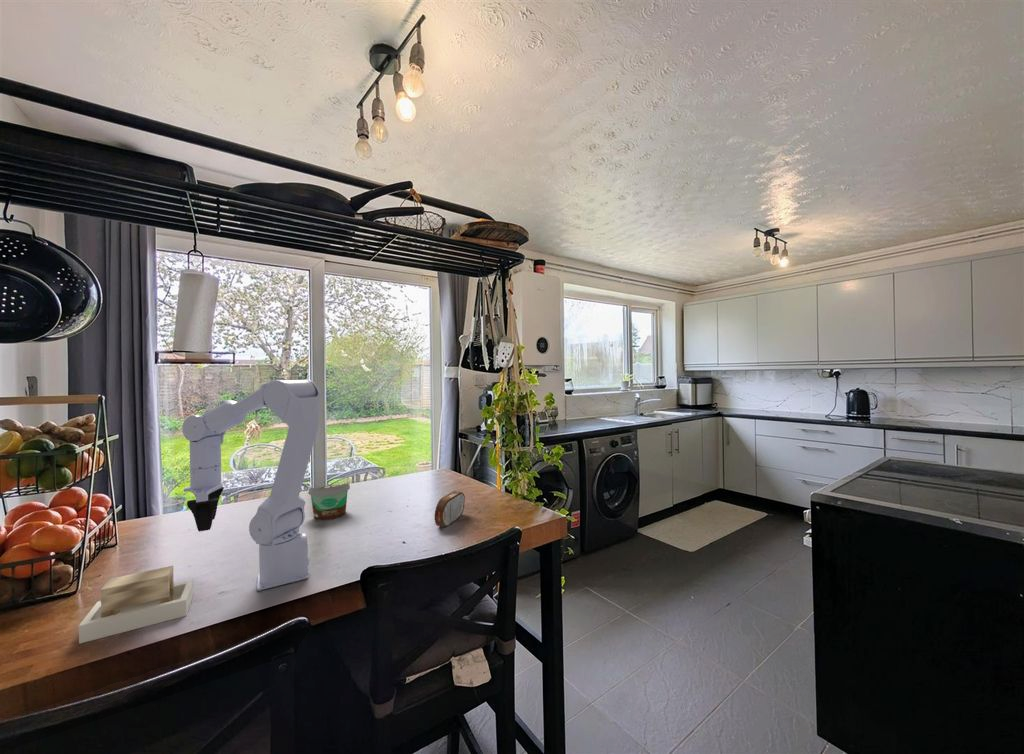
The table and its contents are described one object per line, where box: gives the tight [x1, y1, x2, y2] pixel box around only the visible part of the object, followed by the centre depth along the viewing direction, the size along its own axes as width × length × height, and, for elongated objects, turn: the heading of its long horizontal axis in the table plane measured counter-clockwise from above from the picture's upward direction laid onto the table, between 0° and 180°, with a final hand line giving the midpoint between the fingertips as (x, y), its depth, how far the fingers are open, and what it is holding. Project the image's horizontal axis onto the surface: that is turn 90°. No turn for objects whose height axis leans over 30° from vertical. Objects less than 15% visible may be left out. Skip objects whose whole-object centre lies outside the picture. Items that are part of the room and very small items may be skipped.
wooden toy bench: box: [100, 565, 175, 618], centre depth 73 cm, size 9×4×6 cm, turn 122°
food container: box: [307, 480, 351, 521], centre depth 124 cm, size 12×6×10 cm, turn 126°
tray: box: [78, 579, 195, 644], centre depth 73 cm, size 14×8×3 cm, turn 122°
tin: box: [434, 490, 466, 528], centre depth 118 cm, size 15×3×8 cm, turn 161°
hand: (206, 524), depth 91 cm, fingers open, 7 cm apart
